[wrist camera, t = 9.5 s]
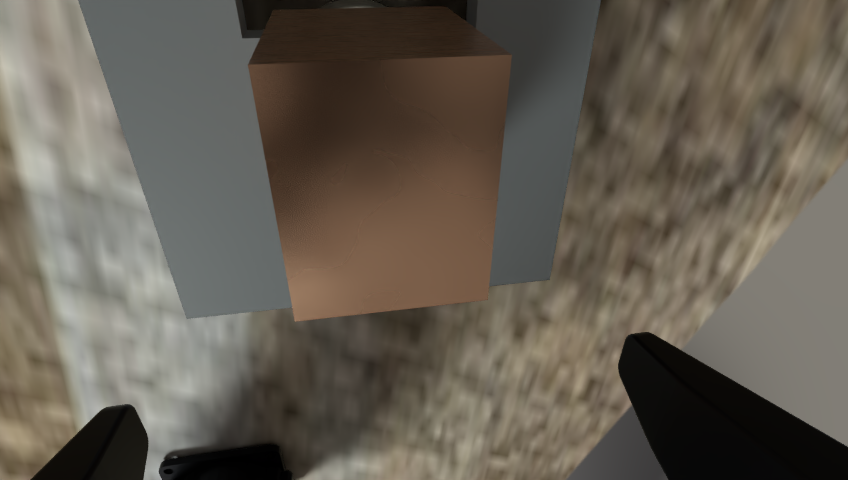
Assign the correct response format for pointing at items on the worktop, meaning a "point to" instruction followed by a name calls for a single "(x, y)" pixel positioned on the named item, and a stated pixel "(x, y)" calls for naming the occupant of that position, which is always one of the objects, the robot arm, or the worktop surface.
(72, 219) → the worktop surface
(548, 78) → the keyhole plate
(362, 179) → the brown and silver block
